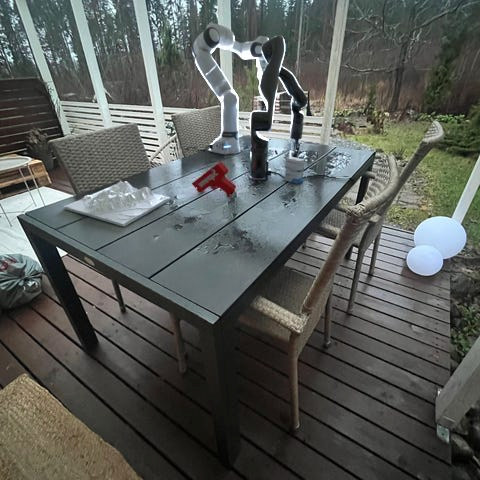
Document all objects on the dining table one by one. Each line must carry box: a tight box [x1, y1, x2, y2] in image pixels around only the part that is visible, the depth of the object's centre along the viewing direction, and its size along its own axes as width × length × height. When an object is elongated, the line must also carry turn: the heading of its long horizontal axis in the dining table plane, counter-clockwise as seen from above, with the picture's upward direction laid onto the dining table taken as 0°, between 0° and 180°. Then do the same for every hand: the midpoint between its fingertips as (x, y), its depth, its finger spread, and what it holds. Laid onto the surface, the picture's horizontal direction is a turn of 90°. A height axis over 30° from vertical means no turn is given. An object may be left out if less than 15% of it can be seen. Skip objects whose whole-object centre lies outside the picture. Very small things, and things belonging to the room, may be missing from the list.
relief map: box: [63, 179, 171, 227], centre depth 119 cm, size 27×35×5 cm
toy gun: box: [191, 161, 237, 197], centre depth 128 cm, size 18×4×15 cm
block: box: [288, 150, 300, 158], centre depth 177 cm, size 4×5×5 cm
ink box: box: [284, 156, 306, 185], centre depth 140 cm, size 8×5×12 cm, turn 47°
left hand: (261, 86), depth 203 cm, fingers open, 8 cm apart
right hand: (293, 157), depth 178 cm, fingers closed on block, 4 cm apart
